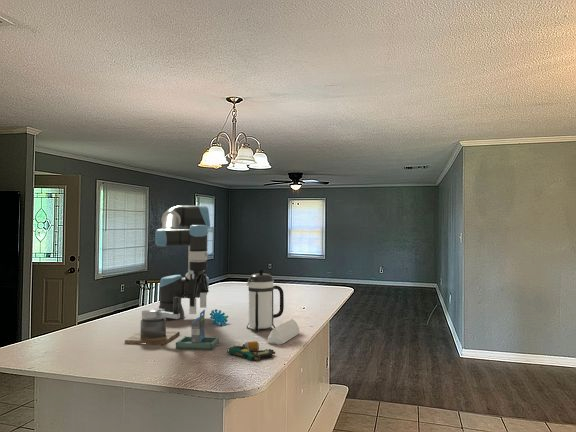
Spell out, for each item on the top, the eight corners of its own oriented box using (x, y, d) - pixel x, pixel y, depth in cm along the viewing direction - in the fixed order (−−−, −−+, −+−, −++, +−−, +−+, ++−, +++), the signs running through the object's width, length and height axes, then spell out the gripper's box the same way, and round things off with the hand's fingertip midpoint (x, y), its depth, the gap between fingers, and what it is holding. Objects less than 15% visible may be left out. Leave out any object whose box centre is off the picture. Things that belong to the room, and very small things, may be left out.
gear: (214, 324, 218) (208, 308, 224) (209, 331, 221) (203, 315, 227) (232, 324, 226) (226, 308, 232) (226, 331, 228) (221, 315, 234)
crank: (136, 320, 195) (137, 295, 195) (154, 316, 204) (154, 292, 204) (169, 325, 185) (170, 299, 185) (186, 321, 193) (186, 296, 194)
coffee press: (271, 334, 205) (271, 270, 206) (240, 331, 211) (240, 269, 211) (284, 326, 221) (284, 267, 222) (255, 323, 227) (255, 266, 228)
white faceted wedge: (284, 337, 184) (304, 325, 206) (271, 327, 187) (292, 317, 209) (277, 351, 186) (297, 338, 208) (263, 342, 188) (285, 329, 210)
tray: (184, 342, 191) (184, 336, 191) (219, 343, 189) (219, 337, 189) (175, 348, 180) (175, 342, 181) (212, 350, 179) (212, 344, 179)
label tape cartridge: (196, 337, 189) (196, 308, 190) (205, 337, 189) (205, 309, 190) (190, 342, 180) (191, 313, 181) (200, 342, 180) (200, 313, 181)
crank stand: (143, 333, 207) (143, 315, 207) (179, 334, 204) (179, 316, 205) (124, 343, 189) (124, 323, 189) (164, 344, 187) (164, 325, 187)
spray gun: (278, 359, 169) (245, 368, 161) (256, 347, 183) (224, 354, 174) (278, 349, 169) (245, 357, 160) (256, 337, 183) (224, 344, 174)
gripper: (197, 264, 173) (197, 317, 173) (215, 258, 198) (215, 305, 197) (179, 263, 174) (179, 316, 174) (199, 258, 198) (199, 304, 198)
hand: (198, 310), depth 185 cm, fingers open, 13 cm apart
